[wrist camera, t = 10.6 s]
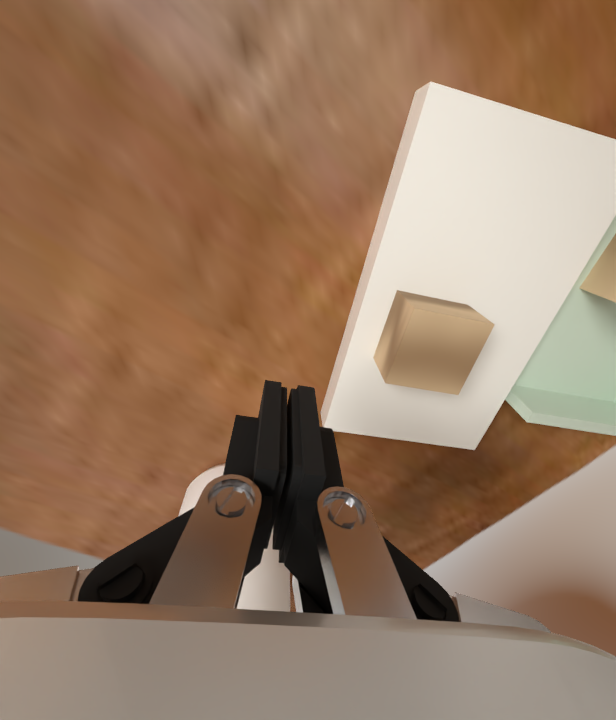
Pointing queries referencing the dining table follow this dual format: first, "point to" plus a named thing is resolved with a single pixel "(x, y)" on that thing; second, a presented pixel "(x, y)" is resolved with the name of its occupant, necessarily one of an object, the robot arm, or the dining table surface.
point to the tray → (574, 363)
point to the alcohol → (265, 581)
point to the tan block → (430, 343)
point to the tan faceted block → (603, 274)
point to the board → (471, 255)
